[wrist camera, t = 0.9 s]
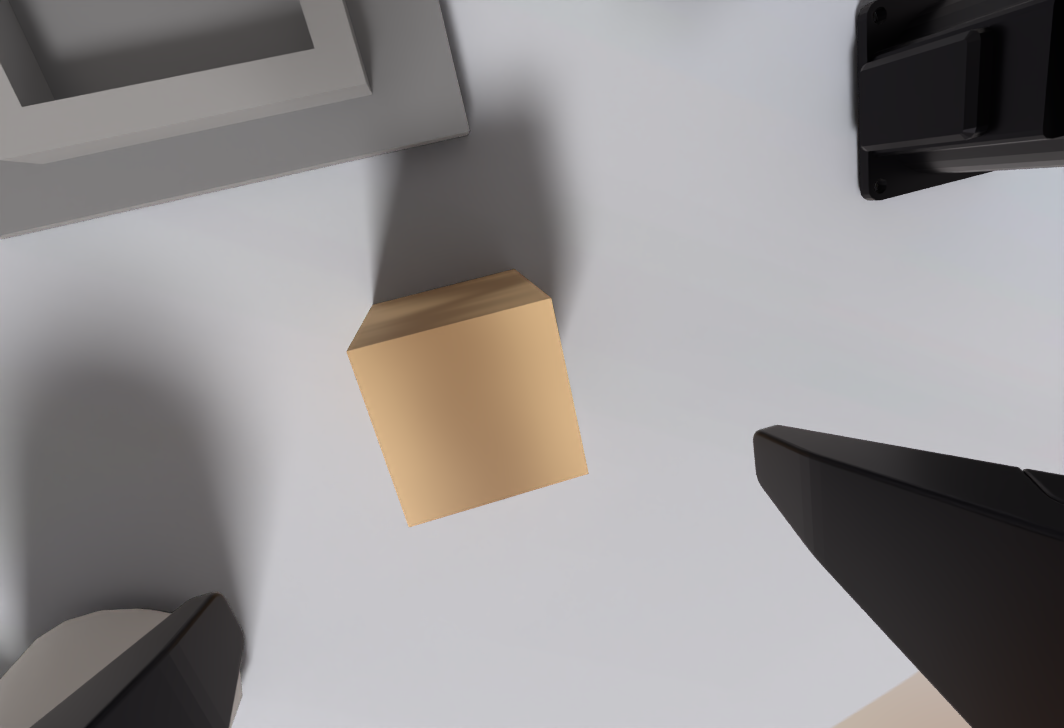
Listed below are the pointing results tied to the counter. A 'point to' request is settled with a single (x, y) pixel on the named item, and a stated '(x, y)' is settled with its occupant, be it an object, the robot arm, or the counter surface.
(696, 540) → the counter surface
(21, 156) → the grey tray
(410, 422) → the oak block
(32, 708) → the can
